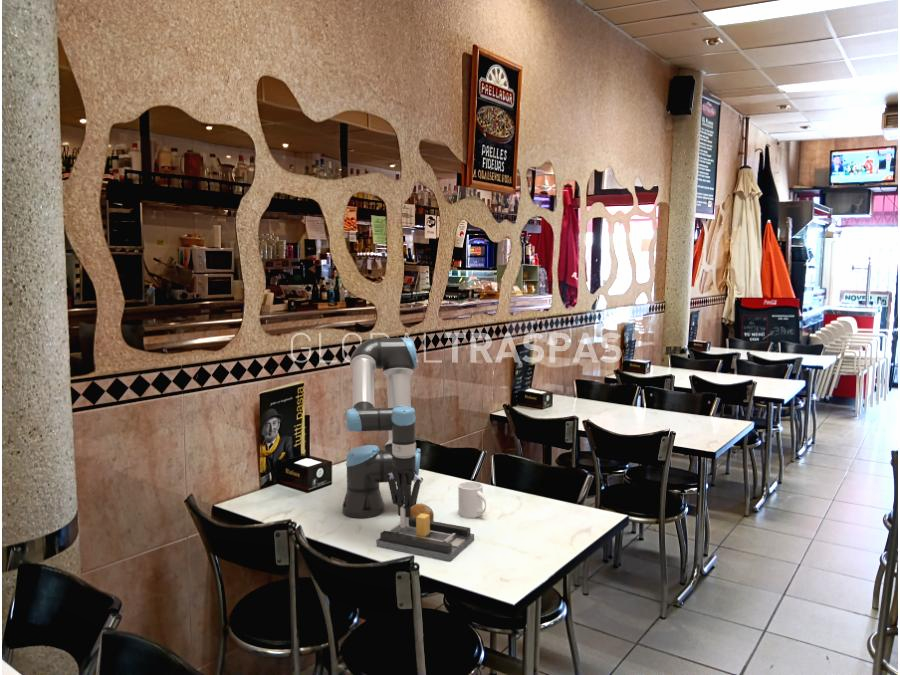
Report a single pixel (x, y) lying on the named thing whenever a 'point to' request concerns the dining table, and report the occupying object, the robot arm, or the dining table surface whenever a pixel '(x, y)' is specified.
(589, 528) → the dining table surface
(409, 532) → the panel
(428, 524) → the lever
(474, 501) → the mug
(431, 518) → the bread roll
